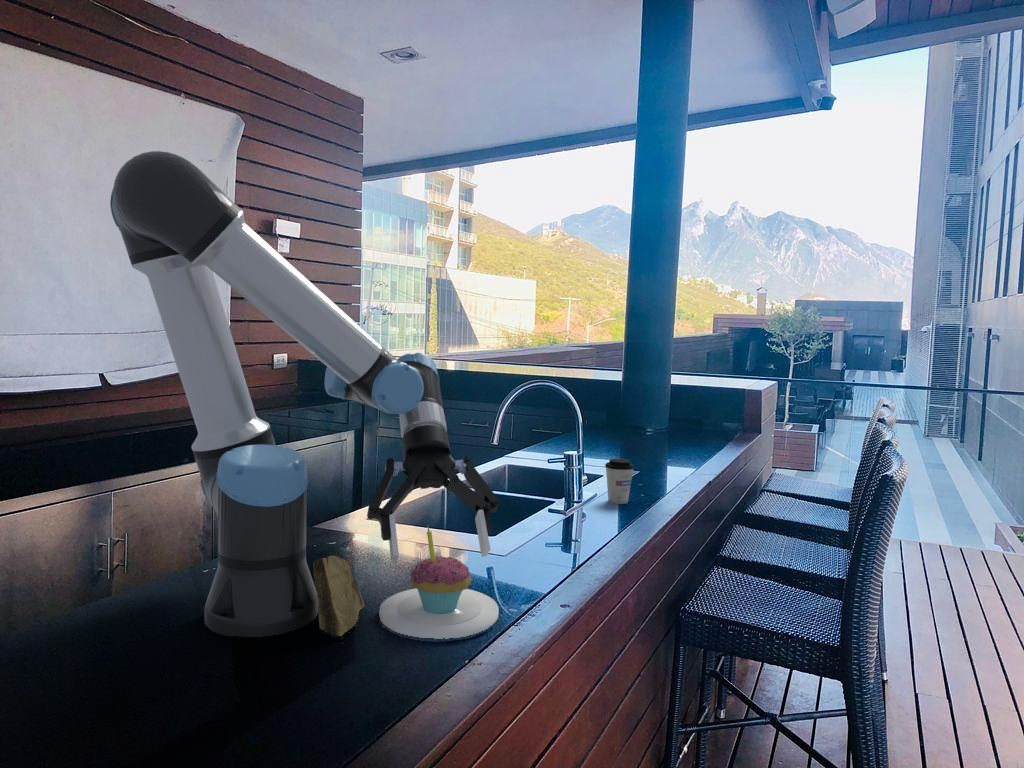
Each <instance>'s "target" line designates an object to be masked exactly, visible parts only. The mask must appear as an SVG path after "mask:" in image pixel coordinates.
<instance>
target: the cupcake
mask: <svg viewBox="0 0 1024 768" xmlns="http://www.w3.org/2000/svg"><path fill="white" fill-rule="evenodd" d="M426 528H427V531H426V535H427V541H428V550H429V557H430V558H427V559H424V560H422V561H420V562H417V564H416V566H415V567H414V568H412V570H411V573H410V583H411V584H412V585H413V587H414V588H413V589H415V588H417V590H418V592H419V595H420V598H421V602H422V605H423V608H424V610H426V611H427V612H430V613H436V614H443V613H449V612H451V611H453V610H455V609H456V607H457V603H458V600H459V597H460V595H461V593H462V591H463V590H465V589H468V588H469V586H470V585H471V583H472V577H471V572H470V570H469V567H468V566H466V564H464V563H463V562H461V560H458V559H457V558H454V557H450V556H439V557H438V556H436V555H435V548H434V540H433V532H432V530H430V527H429V526H428V525H427V526H426Z"/></svg>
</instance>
